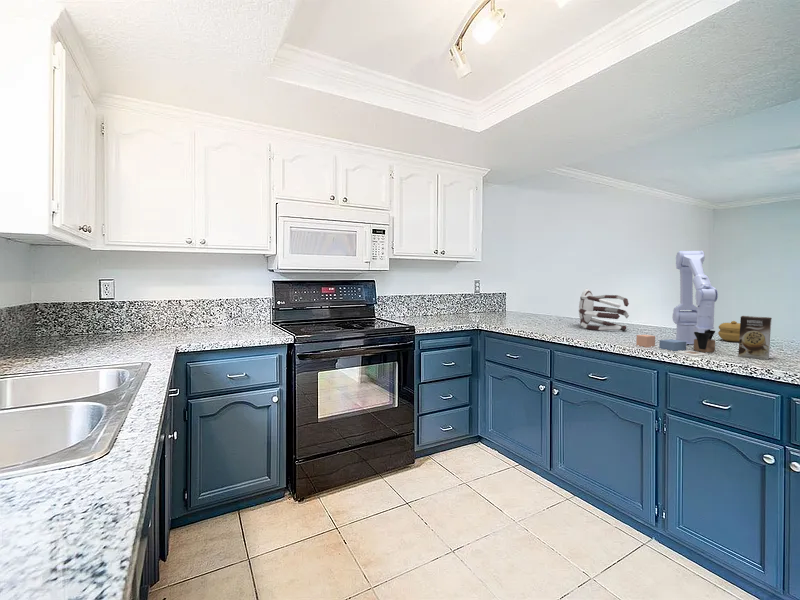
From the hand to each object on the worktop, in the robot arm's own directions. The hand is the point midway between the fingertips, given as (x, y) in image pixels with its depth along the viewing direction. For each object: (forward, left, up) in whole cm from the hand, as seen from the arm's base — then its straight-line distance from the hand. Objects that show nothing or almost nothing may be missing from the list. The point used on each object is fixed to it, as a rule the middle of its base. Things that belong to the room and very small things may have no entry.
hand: (704, 347), depth 172 cm
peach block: (+12, -18, -2) cm, 22 cm away
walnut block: (0, 0, -1) cm, 1 cm away
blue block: (+8, -8, -2) cm, 11 cm away
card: (+10, +2, -1) cm, 10 cm away
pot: (-39, -13, -2) cm, 41 cm away
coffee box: (-6, +15, -2) cm, 16 cm away
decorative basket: (-16, -72, -2) cm, 74 cm away
